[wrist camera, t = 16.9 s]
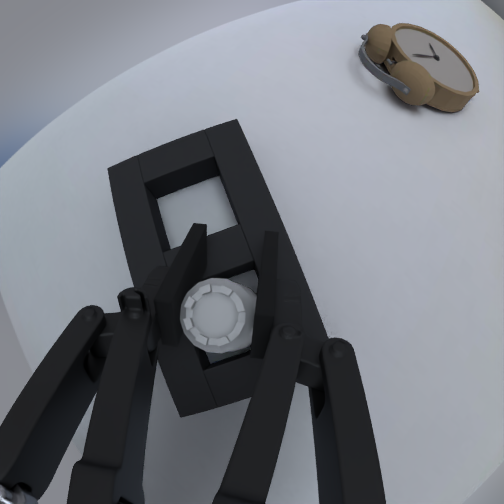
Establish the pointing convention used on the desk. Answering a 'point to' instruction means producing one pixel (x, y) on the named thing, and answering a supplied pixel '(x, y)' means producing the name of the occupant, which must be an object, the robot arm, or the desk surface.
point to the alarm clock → (419, 66)
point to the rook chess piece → (219, 315)
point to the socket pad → (218, 249)
